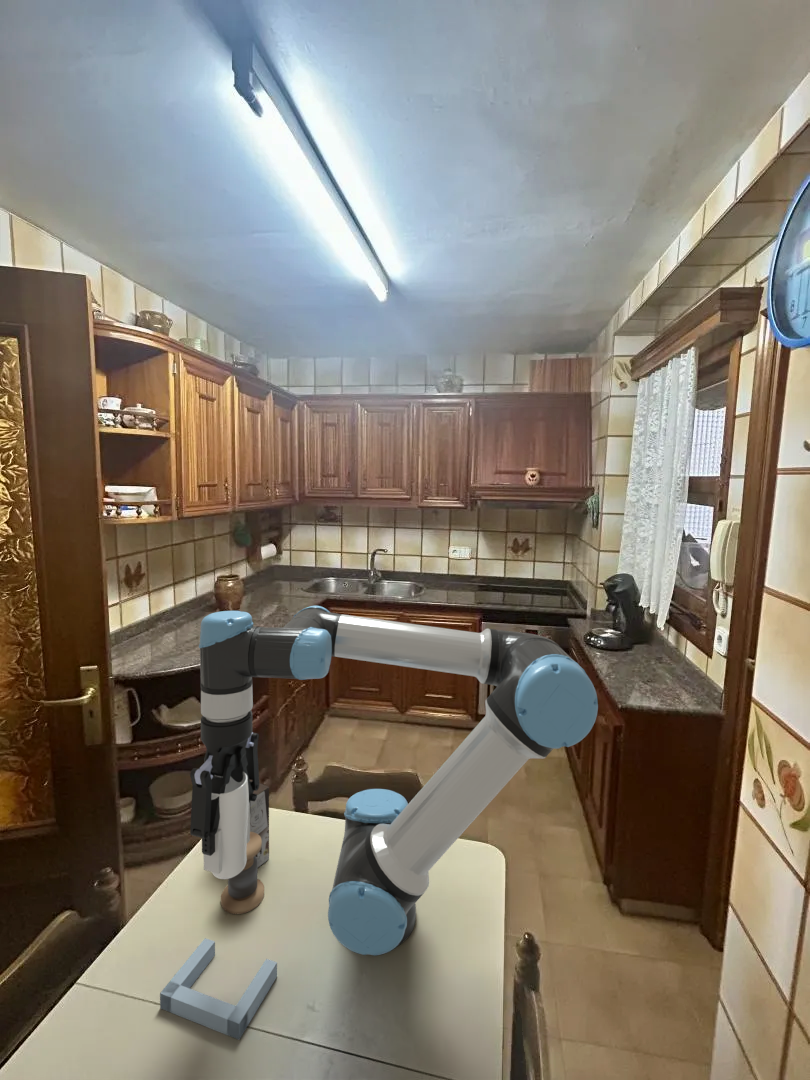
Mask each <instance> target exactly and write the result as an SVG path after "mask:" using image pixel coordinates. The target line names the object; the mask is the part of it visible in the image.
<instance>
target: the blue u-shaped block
mask: <svg viewBox="0 0 810 1080" xmlns="http://www.w3.org/2000/svg"><path fill="white" fill-rule="evenodd" d="M215 956H216V941H215V940H212V939H209V938H206V937H205V938H204V939H203V940H202V941H201V942H200V944H198V946H197V947H196V948H195V950H194V951H192V953H191V955H190V956H189V957H188V959H186V961H185V962H184V963H183V965H182V966H181V967H180V968H179V970H177V971H176V973H175V974H174V975H173V977H172V978H171V979H170V981H168V983H167V984H166V985H165V987H163V989H162V990H161V991H160V993H159V997H160V998H159V1005H160V1006H159V1009H160V1010H163V1011H166V1012H168V1013H171V1014H173V1015H176V1016H179V1017H180V1018H183V1019H186V1020H188V1021H190V1022H194V1023H195V1024H197V1025H198V1024H199V1025H201V1026H204V1027H206V1028H208V1029H210V1030H213V1031H216V1032H218V1033H221V1034H223V1035H226V1036H228V1037H231V1038H233V1039H236V1040H239V1041H240V1039H241V1038H242V1036H243V1034H244V1032H245V1031H246V1029H247V1028H248V1026H249V1024H250V1023H251V1022H252V1020H253V1018H254V1016H255V1015H256V1013H257V1012H258V1010H259V1008H260V1006H261V1004H262V1003H263V1001H264V1000H265V998H266V997H267V994H268V993H269V991H270V989H271V987H272V986H273V984H274V982H275V981H276V979H277V977H278V962H277V961H274V960H271V959H268V958H266V959H265V960H264V962H263V963H262V965H261V967H260V968H259V970H258V971H257V973H256V974H255V975H254V977H253V978H252V980H251V981H250V983H249V985H248V986H247V988H246V989H245V991H244V992H243V994H242V996H241V998H240V999H239V1000H238V1002H237V1003H236V1005H235V1004H233V1003H229V1002H227V1001H224V1000H221V999H219V998H216V997H213V996H211V995H208V994H205V993H202V992H200V991H197V990H194V989H192V988H191V987H192V986H193V985H194V983H195V982H196V981H197V980H198V979H199V977H200V975H201V974H202V973H203V972H204V970H205V969H206V967H207V966H208V965H209V964H210V962H211V961H212V960H213V958H215Z"/></svg>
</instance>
